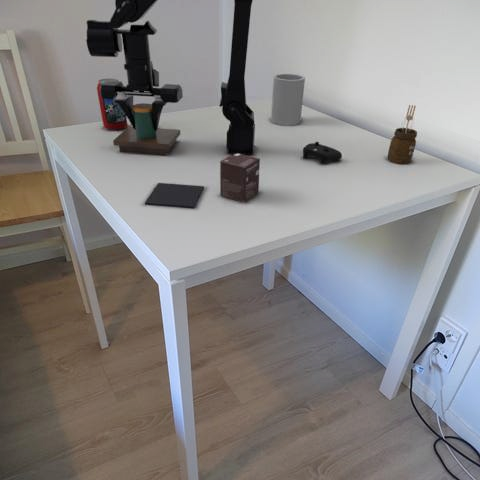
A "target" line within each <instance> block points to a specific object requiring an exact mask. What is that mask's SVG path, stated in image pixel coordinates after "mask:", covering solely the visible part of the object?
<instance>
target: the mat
mask: <svg viewBox="0 0 480 480" xmlns="http://www.w3.org/2000/svg"><path fill="white" fill-rule="evenodd" d="M204 188H205V187H204V186H203V185H192V184H191V185H190V184H177V183H168V182H167V183H166V182H165V183H164V182H158V183H157V185H155V187H154V188H153V190H152V191H151V193H150V194H149V196H148V197H147V199H145V201H144V205H147V206H158V207H159V206H162V207H170V208H171V207H174V208H184V209H185V208H186V209H195V208H196V205H197V204H198V202H199V199H200V197H201V195H202V193H203V191H204Z"/></svg>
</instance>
